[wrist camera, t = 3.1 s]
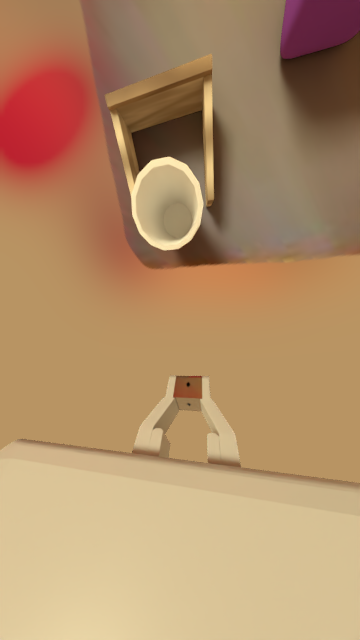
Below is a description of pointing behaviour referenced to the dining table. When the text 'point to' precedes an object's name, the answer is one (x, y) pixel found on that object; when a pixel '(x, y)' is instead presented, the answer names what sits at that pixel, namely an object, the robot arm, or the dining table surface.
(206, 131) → the cup holder
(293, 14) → the toy camera
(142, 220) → the foam cup
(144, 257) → the dining table surface
